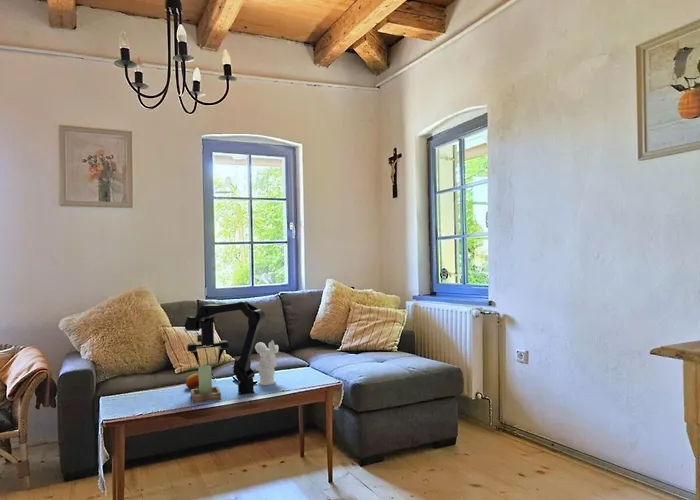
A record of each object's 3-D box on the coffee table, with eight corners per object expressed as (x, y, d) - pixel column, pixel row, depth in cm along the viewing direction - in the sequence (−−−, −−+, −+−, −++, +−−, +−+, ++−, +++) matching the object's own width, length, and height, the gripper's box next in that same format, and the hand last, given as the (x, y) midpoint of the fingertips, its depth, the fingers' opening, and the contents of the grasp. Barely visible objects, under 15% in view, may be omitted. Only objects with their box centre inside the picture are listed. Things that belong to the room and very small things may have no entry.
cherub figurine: (253, 383, 256) (251, 339, 256) (272, 378, 266) (270, 335, 266) (269, 386, 248) (267, 341, 248) (288, 381, 258) (286, 337, 258)
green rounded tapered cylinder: (211, 393, 237) (210, 364, 237) (212, 396, 231) (211, 367, 231) (198, 394, 235) (197, 366, 234) (200, 397, 229) (198, 368, 229)
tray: (217, 392, 241) (217, 386, 241) (220, 399, 229) (220, 392, 229) (191, 395, 236) (190, 389, 236) (192, 403, 225) (192, 396, 225)
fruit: (201, 387, 246) (193, 372, 247) (188, 395, 247) (180, 380, 248) (209, 382, 254) (201, 368, 254) (197, 390, 255) (189, 376, 256)
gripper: (225, 327, 254) (226, 358, 255) (185, 330, 248) (186, 362, 248) (228, 330, 244) (229, 363, 244) (187, 333, 237) (188, 367, 237)
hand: (208, 363), depth 244 cm, fingers open, 9 cm apart
